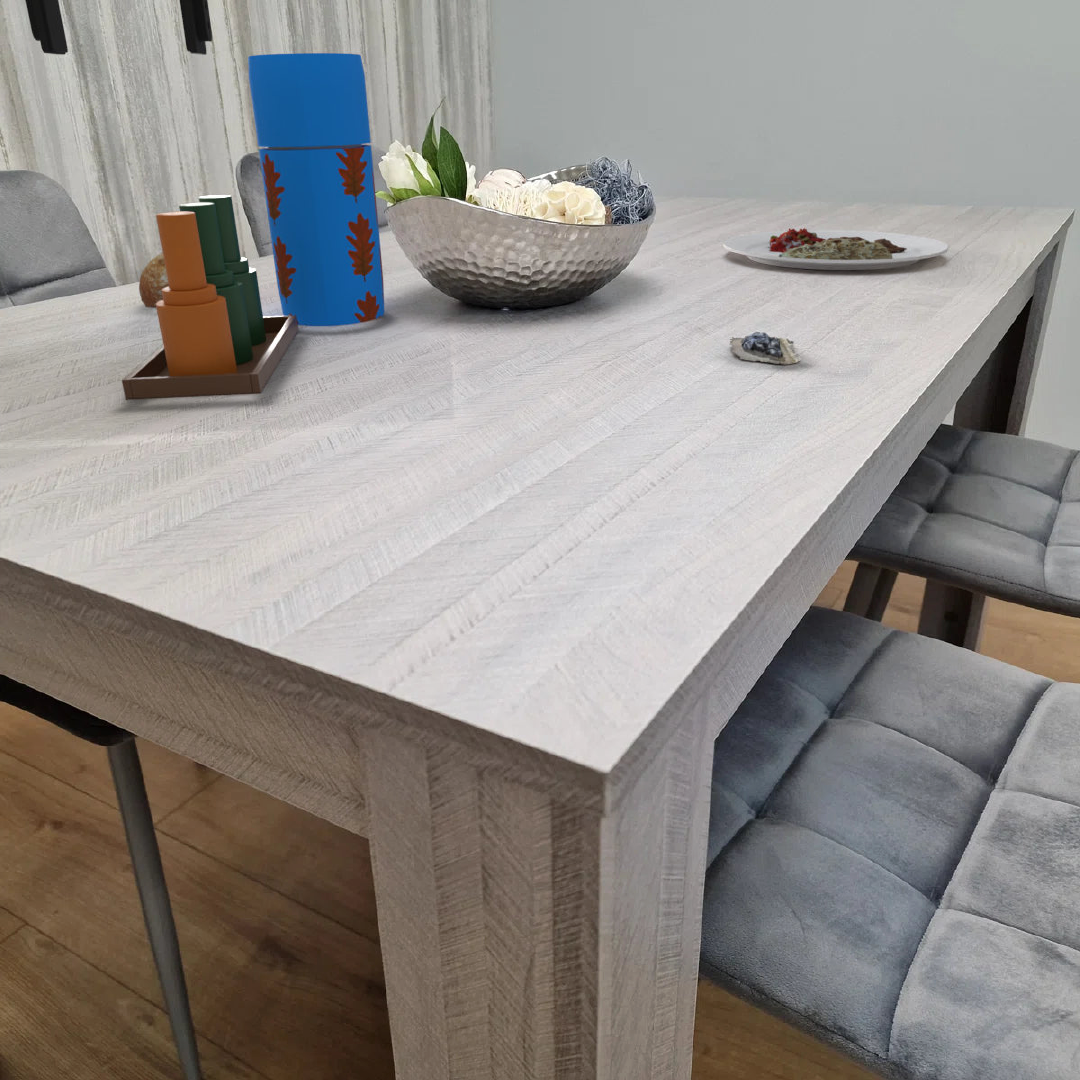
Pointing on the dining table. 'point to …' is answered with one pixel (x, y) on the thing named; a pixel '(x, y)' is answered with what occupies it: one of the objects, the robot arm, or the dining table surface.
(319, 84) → the thermos
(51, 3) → the robot arm
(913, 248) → the plated food
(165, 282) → the bread roll
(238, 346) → the green bottle
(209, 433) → the dining table surface
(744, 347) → the blueberry tart
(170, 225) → the amber bottle
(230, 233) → the green bottle
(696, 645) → the dining table surface
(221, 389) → the tray
